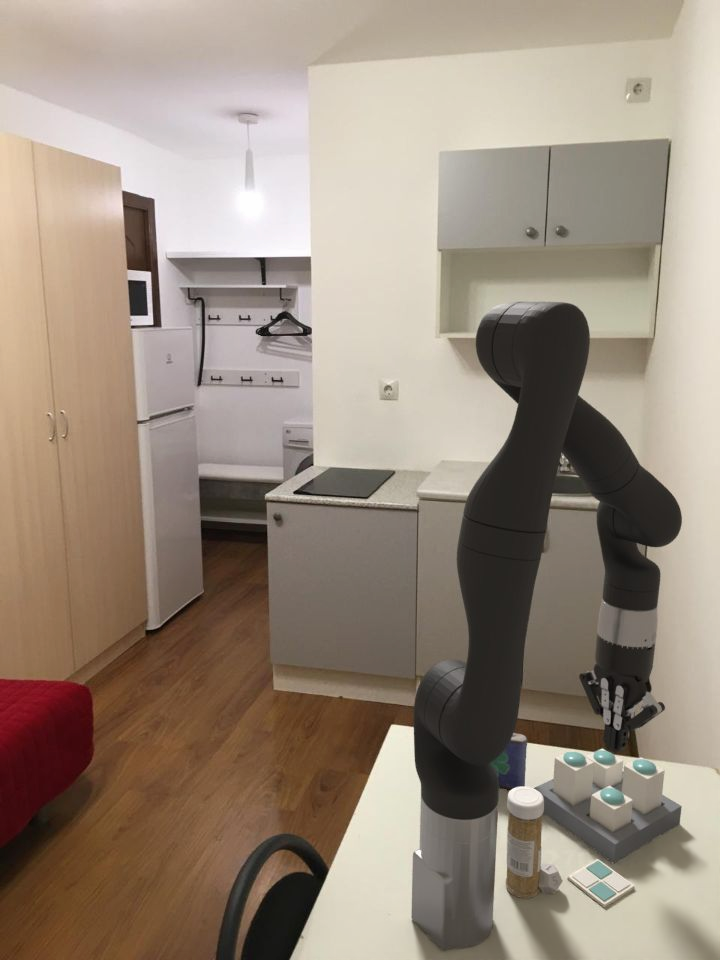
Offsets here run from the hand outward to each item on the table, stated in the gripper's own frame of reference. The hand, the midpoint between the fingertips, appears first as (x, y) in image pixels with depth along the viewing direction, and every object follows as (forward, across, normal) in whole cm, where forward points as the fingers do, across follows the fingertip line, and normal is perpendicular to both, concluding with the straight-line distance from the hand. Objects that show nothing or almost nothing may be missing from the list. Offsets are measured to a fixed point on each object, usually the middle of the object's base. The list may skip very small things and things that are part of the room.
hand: (614, 749), depth 106 cm
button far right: (+11, 0, +7) cm, 14 cm away
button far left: (+14, -7, +8) cm, 17 cm away
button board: (+14, -3, +4) cm, 15 cm away
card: (+14, +6, -8) cm, 17 cm away
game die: (+14, +2, -14) cm, 21 cm away
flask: (+14, -18, -4) cm, 24 cm away
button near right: (+14, 0, +1) cm, 14 cm away
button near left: (+11, -7, 0) cm, 13 cm away
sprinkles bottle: (+14, 0, -17) cm, 22 cm away
